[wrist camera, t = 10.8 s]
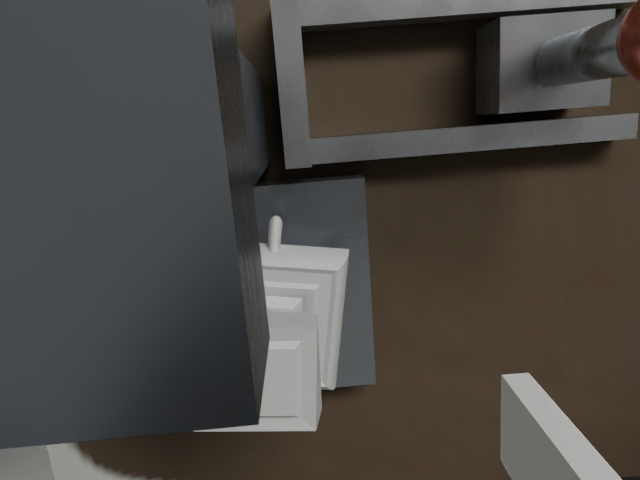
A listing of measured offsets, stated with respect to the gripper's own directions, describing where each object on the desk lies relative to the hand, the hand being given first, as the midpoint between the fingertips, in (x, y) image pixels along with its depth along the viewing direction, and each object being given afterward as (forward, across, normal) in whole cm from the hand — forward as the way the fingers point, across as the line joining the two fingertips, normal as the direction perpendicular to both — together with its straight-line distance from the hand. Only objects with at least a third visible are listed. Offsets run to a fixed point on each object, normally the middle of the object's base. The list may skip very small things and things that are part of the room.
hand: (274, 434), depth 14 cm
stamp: (+11, +1, 0) cm, 11 cm away
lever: (+13, -13, -10) cm, 21 cm away
